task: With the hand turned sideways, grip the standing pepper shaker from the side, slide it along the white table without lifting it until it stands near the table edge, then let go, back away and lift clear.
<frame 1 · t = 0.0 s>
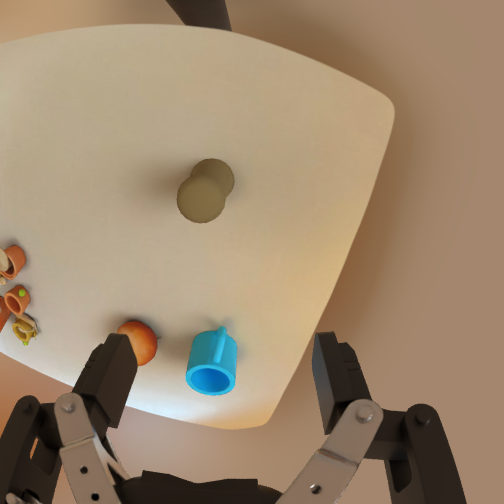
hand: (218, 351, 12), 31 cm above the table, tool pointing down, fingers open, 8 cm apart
fruit: (141, 330, 51), on the table
toy tea set: (11, 286, 48), on the table
mug: (217, 339, 52), on the table
pepper shaker: (212, 180, 39), on the table
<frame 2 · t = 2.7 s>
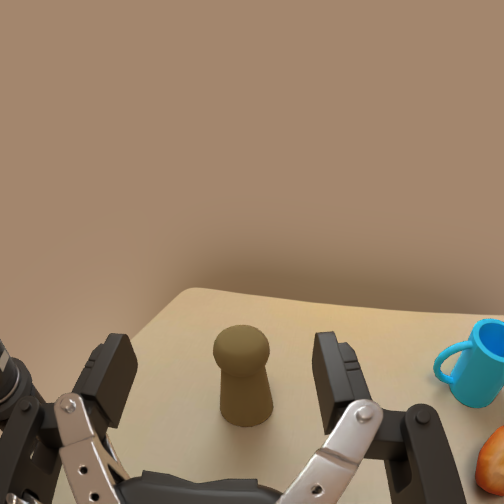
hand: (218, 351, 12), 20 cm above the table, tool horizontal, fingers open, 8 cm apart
fruit: (489, 474, 16), on the table
mug: (461, 385, 28), on the table
pepper shaker: (246, 406, 31), on the table
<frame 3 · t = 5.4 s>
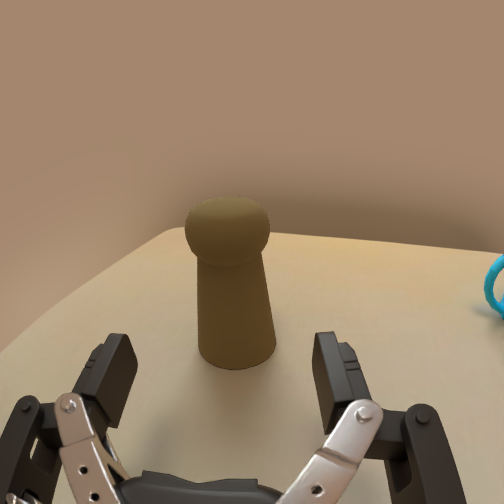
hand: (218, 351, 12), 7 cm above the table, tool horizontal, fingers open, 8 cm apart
pepper shaker: (237, 342, 22), on the table
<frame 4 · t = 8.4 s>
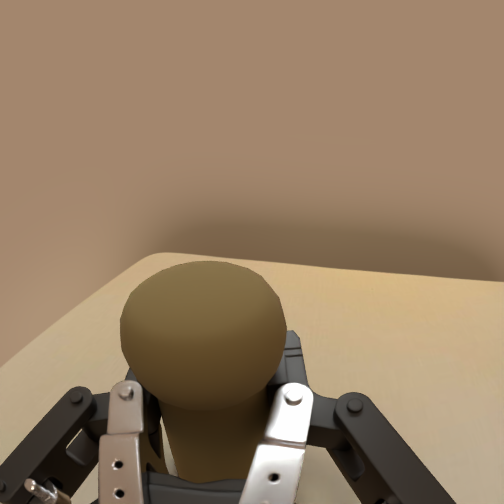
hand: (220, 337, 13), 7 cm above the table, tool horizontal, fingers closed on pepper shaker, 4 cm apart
pepper shaker: (230, 456, 13), on the table, touching gripper
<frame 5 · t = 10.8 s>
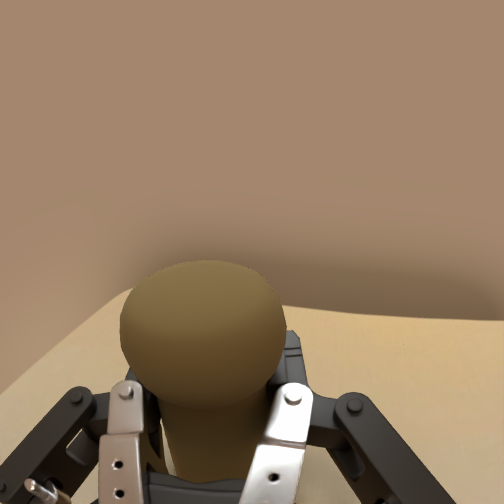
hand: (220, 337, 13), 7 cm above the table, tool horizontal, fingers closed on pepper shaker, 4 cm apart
pepper shaker: (230, 459, 13), on the table, touching gripper
when the fingers open (7 cm above the table, at t = 13.6 s): pepper shaker stays where it is, on the table.
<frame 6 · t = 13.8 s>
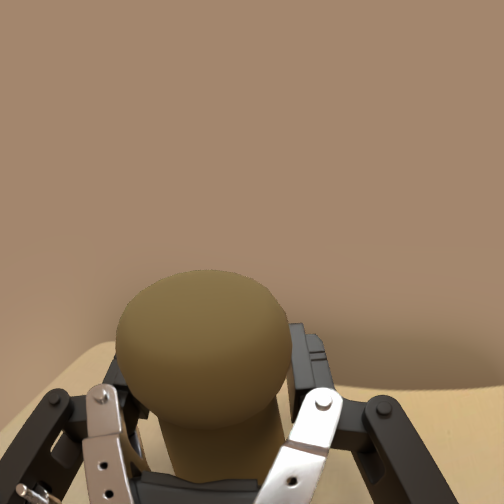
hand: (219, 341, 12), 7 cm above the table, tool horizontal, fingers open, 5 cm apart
pepper shaker: (231, 465, 13), on the table
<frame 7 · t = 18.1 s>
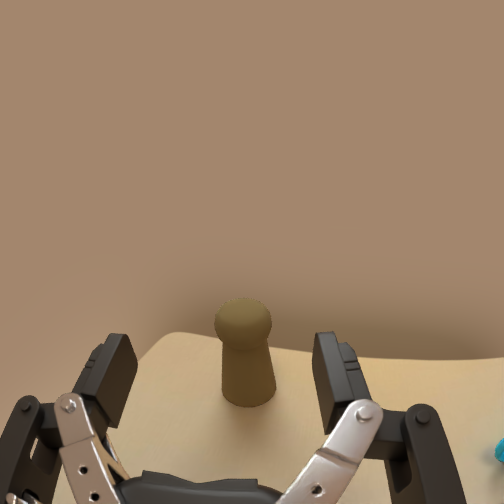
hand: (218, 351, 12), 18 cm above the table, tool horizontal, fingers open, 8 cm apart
pepper shaker: (248, 387, 31), on the table
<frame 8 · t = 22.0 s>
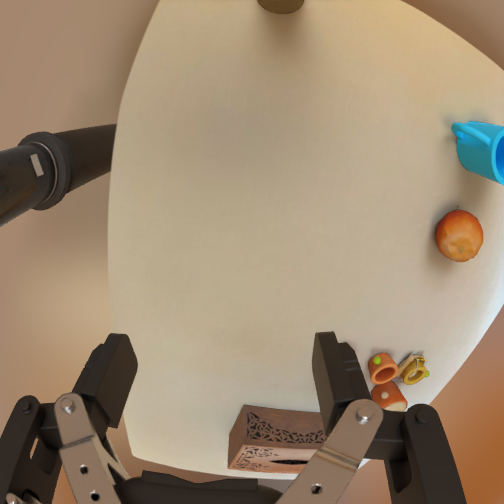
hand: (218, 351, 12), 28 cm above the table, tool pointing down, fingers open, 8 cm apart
fruit: (446, 226, 39), on the table
toy tea set: (367, 372, 53), on the table
mug: (466, 141, 33), on the table
tissue box cover: (289, 426, 61), on the table
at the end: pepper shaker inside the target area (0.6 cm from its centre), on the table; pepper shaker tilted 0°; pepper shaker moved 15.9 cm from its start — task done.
